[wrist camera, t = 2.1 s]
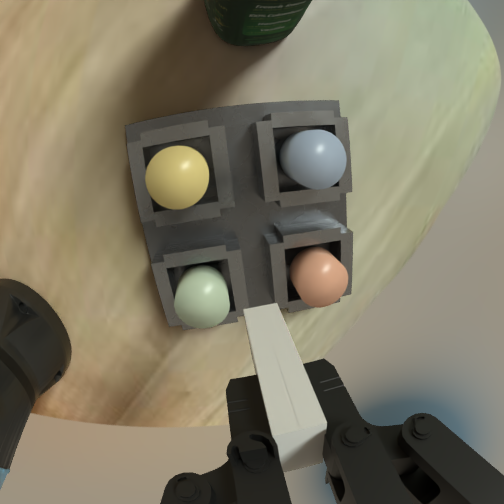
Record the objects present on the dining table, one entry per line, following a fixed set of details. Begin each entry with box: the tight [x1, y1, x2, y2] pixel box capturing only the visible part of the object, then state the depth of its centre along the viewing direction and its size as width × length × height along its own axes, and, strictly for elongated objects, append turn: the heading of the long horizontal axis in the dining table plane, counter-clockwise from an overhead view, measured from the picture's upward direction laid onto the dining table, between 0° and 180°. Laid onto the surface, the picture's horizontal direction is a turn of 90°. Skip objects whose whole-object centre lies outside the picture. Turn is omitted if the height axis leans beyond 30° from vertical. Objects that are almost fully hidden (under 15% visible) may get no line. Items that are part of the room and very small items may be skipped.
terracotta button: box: [289, 247, 348, 307], centre depth 25 cm, size 4×4×3 cm
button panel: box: [125, 100, 353, 330], centre depth 25 cm, size 19×20×4 cm
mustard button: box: [145, 146, 209, 209], centre depth 20 cm, size 4×4×3 cm
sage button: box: [174, 265, 230, 328], centre depth 24 cm, size 4×4×3 cm
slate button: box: [280, 130, 346, 190], centre depth 21 cm, size 4×4×3 cm
